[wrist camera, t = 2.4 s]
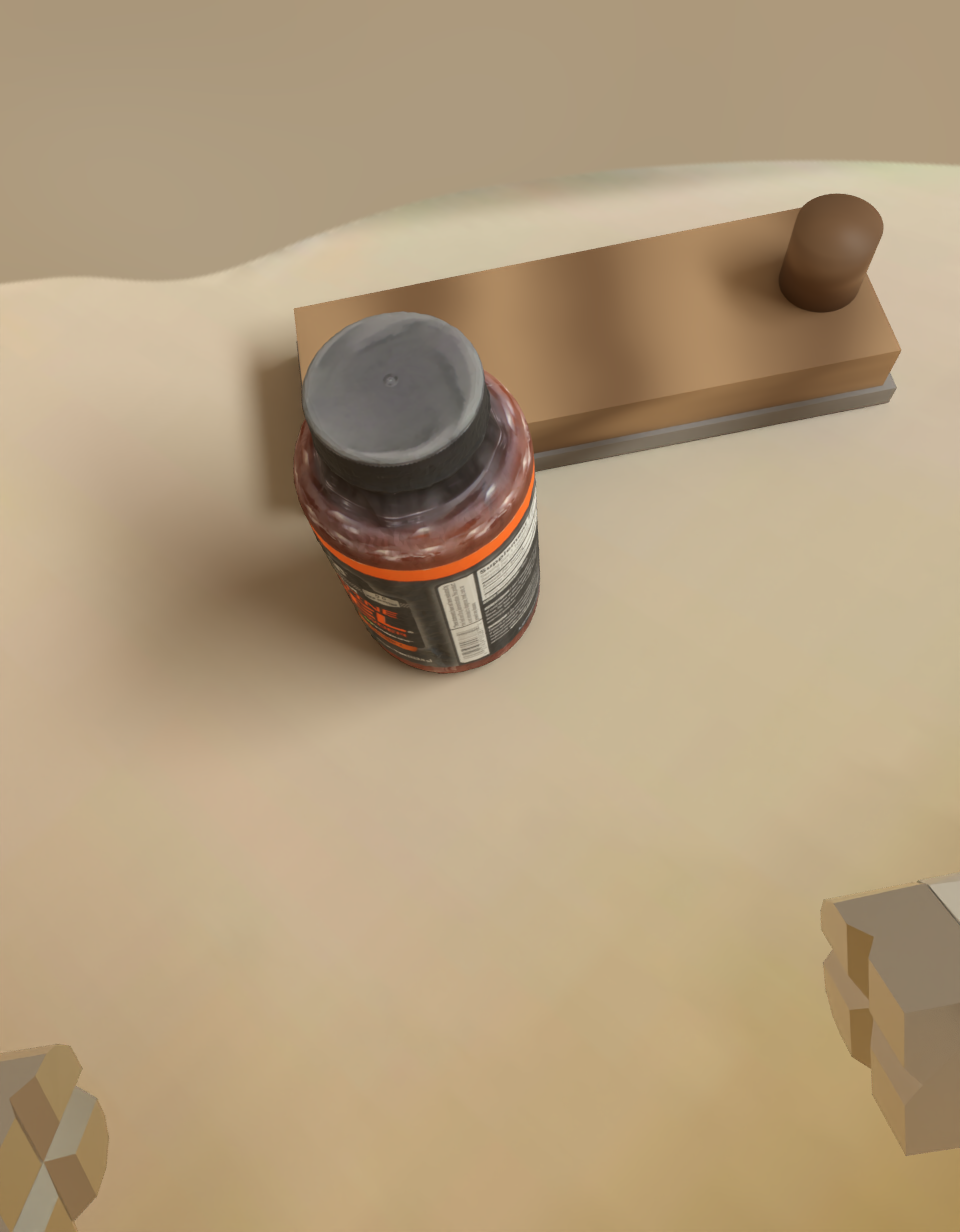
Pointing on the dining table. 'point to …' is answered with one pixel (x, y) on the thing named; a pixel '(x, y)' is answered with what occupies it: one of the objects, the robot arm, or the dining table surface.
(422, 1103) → the dining table surface
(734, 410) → the body
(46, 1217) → the robot arm
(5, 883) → the dining table surface
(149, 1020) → the dining table surface
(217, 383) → the dining table surface
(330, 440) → the supplement bottle
